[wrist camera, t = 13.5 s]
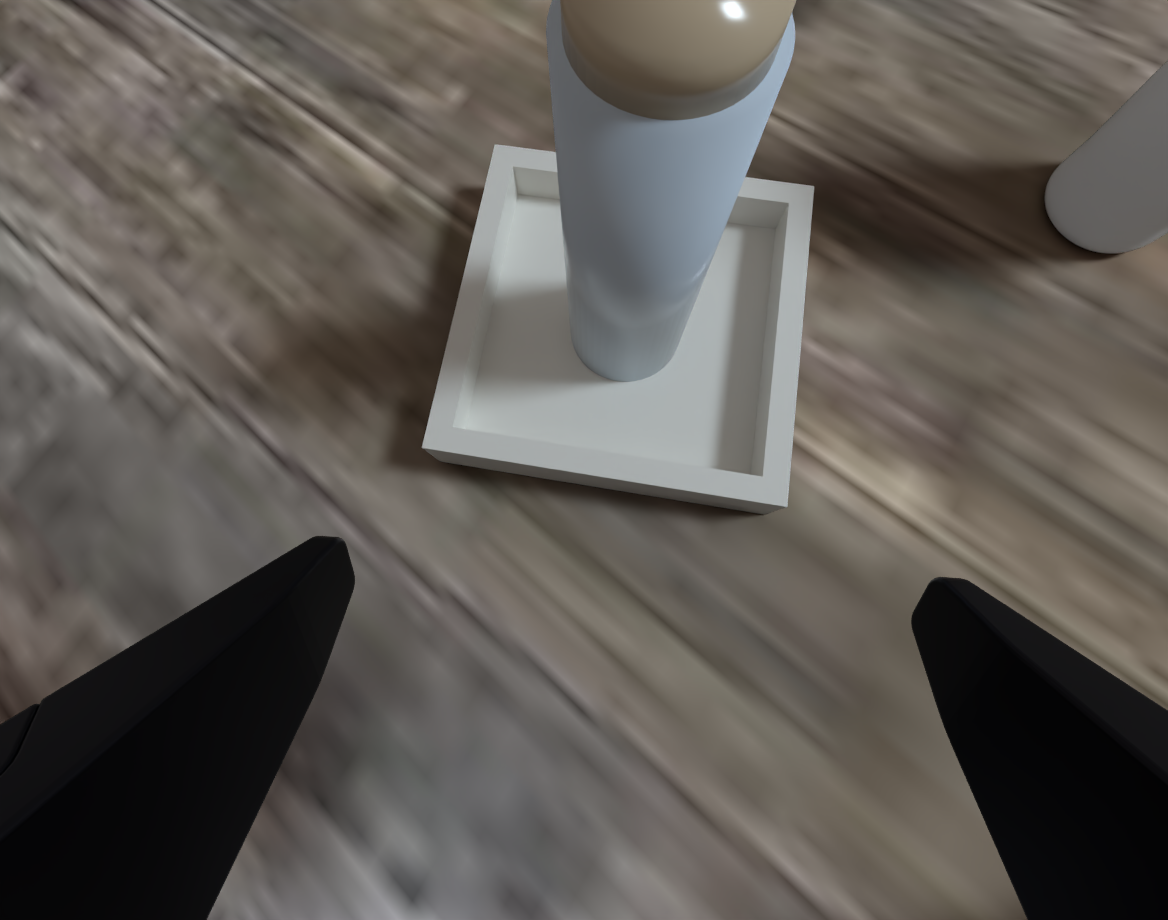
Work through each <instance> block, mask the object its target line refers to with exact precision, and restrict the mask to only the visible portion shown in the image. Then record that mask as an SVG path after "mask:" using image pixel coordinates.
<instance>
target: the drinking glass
mask: <svg viewBox="0 0 1168 920" xmlns="http://www.w3.org/2000/svg"><path fill="white" fill-rule="evenodd" d="M1045 207H1046V211H1047V214H1048V216H1049V218H1050V220H1051V222H1052V224H1053V225H1054V226H1055V228H1056V229H1057V230H1058V231H1059V232H1060V233H1061V234H1062V235H1063V236H1064V237H1065V238H1067V239H1068V240H1069V241H1071V242H1072V243H1074V244H1076V245H1078V246H1080V247H1082V248H1084V249H1087V250H1090V251H1094V252H1099V253H1108V254H1115V253H1124V252H1129V251H1133V250H1136V249H1139V248H1141V247H1144V246H1146V245H1148V244H1150V243H1152V242H1153V241H1155V240H1157V239H1159V238H1160V237H1162V236H1164V235H1165V234H1167V233H1168V60H1167V61H1166V62H1165V63H1164V64H1163V65H1162V66H1161V67H1160V68H1159V69H1158V70H1157V71H1156V72H1155V73H1154V74H1153V75H1152V76H1151V77H1150V78H1149V79H1148V80H1147V81H1146V82H1145V83H1144V84H1143V85H1142V86H1141V87H1140V88H1139V89H1138V90H1137V91H1136V92H1135V93H1134V94H1133V95H1132V96H1131V97H1130V98H1129V99H1128V100H1127V101H1126V102H1125V103H1124V104H1123V105H1122V106H1121V107H1120V108H1119V109H1118V110H1117V111H1116V112H1115V113H1114V114H1113V115H1112V116H1111V117H1110V118H1109V119H1108V120H1107V121H1106V122H1105V123H1104V124H1103V125H1102V126H1101V127H1100V128H1099V129H1098V130H1097V131H1096V132H1095V133H1094V134H1093V135H1092V136H1091V137H1090V138H1089V139H1088V140H1086V141H1085V142H1084V143H1083V144H1082V145H1081V146H1080V147H1078V148H1077V149H1076V150H1075V151H1074V152H1073V153H1072V154H1071V155H1069V156H1068V157H1067V158H1066V159H1065V160H1064V161H1063V162H1062V163H1061V164H1060V165H1059V166H1058V167H1057V168H1056V169H1055V171H1054V172H1053V173H1052V175H1051V177H1050V178H1049V180H1048V183H1047V186H1046V189H1045Z"/></svg>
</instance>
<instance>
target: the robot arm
mask: <svg viewBox="0 0 1168 920" xmlns="http://www.w3.org/2000/svg"><path fill="white" fill-rule="evenodd" d="M354 585H355V575H354V571H353V567H352V564H351V560H350V557H349V553H348V549H347V546H346V543H345V541H344V540H343V539H342V538H339V537H329V536H315V537H312V538H310V539H309V540H307V541H305V542H304V543H302V544H300V545H299V546H297V547H295V548H294V549H292V550H290V551H289V552H287V553H285V554H284V555H282V556H280V557H279V558H277V559H275V560H274V561H272V562H270V563H269V564H267V565H265V566H264V567H262V568H260V569H259V570H257V571H255V572H254V573H252V574H250V575H249V576H247V577H245V578H244V579H242V580H240V581H239V582H237V583H235V584H234V585H232V586H230V587H229V588H227V589H225V590H224V591H222V592H220V593H219V594H217V595H215V596H214V597H212V598H210V599H209V600H207V601H205V602H204V603H202V604H200V605H199V606H197V607H195V608H194V609H192V610H190V611H189V612H187V613H185V614H184V615H182V616H180V617H179V618H177V619H175V620H174V621H172V622H170V623H169V624H167V625H165V626H164V627H162V628H160V629H159V630H157V631H155V632H154V633H152V634H150V635H149V636H147V637H145V638H144V639H142V640H140V641H139V642H137V643H135V644H134V645H132V646H130V647H129V648H127V649H125V650H124V651H122V652H120V653H119V654H117V655H115V656H114V657H112V658H110V659H109V660H107V661H105V662H104V663H102V664H100V665H99V666H97V667H95V668H94V669H92V670H90V671H89V672H87V673H85V674H84V675H82V676H80V677H79V678H77V679H75V680H74V681H72V682H70V683H69V684H67V685H65V686H64V687H62V688H60V689H59V690H57V691H55V692H54V693H52V694H50V695H49V696H47V697H45V698H44V699H43V700H42V701H41V703H40V704H34V705H32V706H30V707H28V708H27V709H25V710H24V711H22V712H20V713H19V714H17V715H15V716H14V717H12V718H10V719H9V720H7V721H5V722H4V723H2V724H0V920H207V918H208V915H209V913H210V911H211V909H212V907H213V905H214V903H215V901H216V899H217V897H218V895H219V893H220V891H221V888H222V886H223V884H224V882H225V880H226V878H227V876H228V874H229V872H230V870H231V868H232V866H233V863H234V861H235V859H236V857H237V855H238V853H239V851H240V849H241V847H242V845H243V843H244V841H245V838H246V836H247V834H248V832H249V830H250V828H251V826H252V824H253V822H254V820H255V818H256V816H257V813H258V811H259V809H260V807H261V805H262V803H263V801H264V799H265V797H266V795H267V793H268V791H269V789H270V786H271V784H272V782H273V780H274V778H275V776H276V774H277V772H278V770H279V768H280V766H281V764H282V761H283V759H284V757H285V755H286V753H287V751H288V749H289V747H290V745H291V743H292V741H293V739H294V736H295V734H296V732H297V730H298V728H299V726H300V724H301V722H302V720H303V718H304V716H305V714H306V711H307V709H308V707H309V705H310V703H311V701H312V699H313V697H314V695H315V692H316V690H317V688H318V686H319V684H320V681H321V679H322V676H323V674H324V671H325V669H326V666H327V663H328V660H329V658H330V655H331V652H332V649H333V646H334V643H335V641H336V638H337V635H338V632H339V629H340V627H341V624H342V621H343V618H344V615H345V613H346V610H347V607H348V604H349V601H350V598H351V596H352V593H353V590H354ZM911 624H912V630H913V633H914V636H915V640H916V643H917V646H918V649H919V652H920V655H921V658H922V661H923V664H924V668H925V671H926V674H927V677H928V680H929V683H930V686H931V689H932V692H933V696H934V699H935V702H936V705H937V708H938V711H939V714H940V717H941V719H942V722H943V725H944V728H945V730H946V733H947V735H948V738H949V740H950V743H951V745H952V747H953V750H954V752H955V754H956V756H957V759H958V761H959V763H960V766H961V768H962V770H963V773H964V775H965V777H966V779H967V782H968V784H969V786H970V789H971V791H972V793H973V795H974V798H975V800H976V802H977V805H978V807H979V809H980V811H981V814H982V816H983V818H984V821H985V823H986V825H987V828H988V830H989V832H990V834H991V837H992V839H993V841H994V844H995V846H996V848H997V850H998V853H999V855H1000V857H1001V860H1002V862H1003V864H1004V866H1005V869H1006V871H1007V873H1008V876H1009V878H1010V880H1011V883H1012V885H1013V887H1014V889H1015V892H1016V894H1017V896H1018V899H1019V901H1020V903H1021V905H1022V908H1023V910H1024V912H1025V915H1026V917H1027V919H1028V920H1168V710H1166V709H1165V708H1163V707H1161V706H1160V705H1158V704H1157V703H1155V702H1154V701H1152V700H1151V699H1149V698H1148V697H1146V696H1145V695H1143V694H1142V693H1140V692H1138V691H1137V690H1135V689H1134V688H1132V687H1131V686H1129V685H1128V684H1126V683H1125V682H1123V681H1122V680H1120V679H1118V678H1117V677H1115V676H1114V675H1112V674H1111V673H1109V672H1108V671H1106V670H1105V669H1103V668H1102V667H1100V666H1099V665H1097V664H1095V663H1094V662H1092V661H1091V660H1089V659H1088V658H1086V657H1085V656H1083V655H1082V654H1080V653H1079V652H1077V651H1076V650H1074V649H1072V648H1071V647H1069V646H1068V645H1066V644H1065V643H1063V642H1062V641H1060V640H1059V639H1057V638H1056V637H1054V636H1053V635H1051V634H1049V633H1048V632H1046V631H1045V630H1043V629H1042V628H1040V627H1039V626H1037V625H1036V624H1034V623H1033V622H1031V621H1030V620H1028V619H1026V618H1025V617H1023V616H1022V615H1020V614H1019V613H1017V612H1016V611H1014V610H1013V609H1011V608H1010V607H1008V606H1007V605H1005V604H1003V603H1002V602H1000V601H999V600H997V599H996V598H994V597H993V596H991V595H990V594H988V593H987V592H985V591H984V590H982V589H980V588H979V587H977V586H976V585H974V584H973V583H971V582H970V581H968V580H965V579H961V578H948V577H937V578H934V579H933V580H931V581H930V583H929V584H928V586H927V588H926V590H925V591H924V593H923V595H922V597H921V599H920V600H919V602H918V604H917V606H916V608H915V610H914V612H913V614H912V620H911Z"/></svg>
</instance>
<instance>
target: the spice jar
mask: <svg viewBox="0 0 1168 920" xmlns="http://www.w3.org/2000/svg"><path fill="white" fill-rule="evenodd" d="M795 2H796V0H552V3H551V5H550V8H549V13H548V17H547V27H546V37H547V49H548V62H549V74H550V86H551V99H552V111H553V123H554V135H555V148H556V160H557V172H558V185H559V197H560V209H561V222H562V234H563V246H564V258H565V271H566V283H567V295H568V308H569V320H570V332H571V340H572V344H573V347H574V349H575V352H576V353H577V355H578V357H579V358H580V360H581V361H582V362H583V363H584V364H585V365H586V366H587V367H588V368H589V369H590V370H591V371H593V372H594V373H596V374H598V375H599V376H602V377H604V378H607V379H610V380H614V381H620V382H630V381H637V380H642V379H645V378H648V377H650V376H652V375H654V374H656V373H657V372H659V371H660V370H661V369H663V368H664V367H665V366H666V365H667V364H668V362H669V361H670V360H671V359H672V357H673V355H674V354H675V352H676V349H677V347H678V345H679V342H680V339H681V337H682V334H683V332H684V329H685V327H686V324H687V322H688V319H689V317H690V314H691V312H692V309H693V307H694V304H695V302H696V299H697V297H698V294H699V292H700V289H701V287H702V284H703V282H704V279H705V277H706V274H707V272H708V269H709V267H710V264H711V261H712V259H713V256H714V254H715V251H716V249H717V246H718V244H719V241H720V239H721V236H722V234H723V231H724V229H725V226H726V224H727V221H728V219H729V216H730V214H731V211H732V209H733V206H734V204H735V201H736V199H737V196H738V194H739V191H740V188H741V186H742V183H743V181H744V178H745V176H746V173H747V171H748V168H749V166H750V163H751V161H752V158H753V156H754V153H755V151H756V148H757V146H758V143H759V141H760V138H761V136H762V133H763V131H764V128H765V126H766V123H767V121H768V118H769V115H770V113H771V110H772V108H773V105H774V103H775V100H776V98H777V95H778V93H779V90H780V88H781V85H782V83H783V80H784V78H785V75H786V73H787V70H788V68H789V65H790V62H791V59H792V55H793V51H794V43H795V26H794V20H793V16H792V11H793V8H794V5H795Z"/></svg>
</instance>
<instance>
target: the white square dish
mask: <svg viewBox="0 0 1168 920" xmlns="http://www.w3.org/2000/svg"><path fill="white" fill-rule="evenodd" d="M813 195H814V186H809V185H802V184H794V183H786V182H779V181H771V180H764V179H756V178H748V177H745V178H744V181H743V183H742V186H741V188H740V191H739V194H738V196H737V199H736V201H735V204H734V206H733V209H732V211H731V214H730V216H729V219H728V221H727V224H726V226H725V229H724V231H723V234H722V236H721V239H720V241H719V244H718V246H717V249H716V251H715V254H714V256H713V259H712V261H711V264H710V267H709V269H708V272H707V274H706V277H705V279H704V282H703V284H702V287H701V289H700V292H699V294H698V297H697V299H696V302H695V304H694V307H693V309H692V312H691V314H690V317H689V319H688V322H687V324H686V327H685V329H684V332H683V334H682V337H681V339H680V342H679V345H678V347H677V349H676V352H675V354H674V355H673V357H672V359H671V360H670V361H669V362H668V364H667V365H666V366H665V367H664V368H663V369H661V370H660V371H659V372H657V373H656V374H654V375H652V376H650V377H648V378H645V379H642V380H637V381H630V382H620V381H614V380H610V379H607V378H604V377H602V376H599V375H598V374H596V373H594V372H593V371H591V370H590V369H589V368H588V367H587V366H586V365H585V364H584V363H583V362H582V361H581V360H580V358H579V357H578V355H577V353H576V352H575V349H574V347H573V344H572V340H571V332H570V320H569V308H568V295H567V283H566V271H565V258H564V246H563V234H562V222H561V209H560V197H559V185H558V172H557V160H556V152H550V151H542V150H535V149H527V148H519V147H512V146H504V145H497V144H495V147H494V151H493V155H492V159H491V163H490V167H489V171H488V176H487V180H486V184H485V188H484V192H483V196H482V200H481V205H480V209H479V213H478V217H477V221H476V225H475V229H474V234H473V238H472V242H471V246H470V250H469V254H468V258H467V263H466V267H465V271H464V275H463V279H462V283H461V287H460V291H459V296H458V300H457V304H456V308H455V312H454V316H453V320H452V325H451V329H450V333H449V337H448V341H447V345H446V349H445V354H444V358H443V362H442V366H441V370H440V374H439V378H438V383H437V387H436V391H435V395H434V399H433V403H432V407H431V411H430V416H429V420H428V424H427V428H426V432H425V436H424V440H423V445H422V448H423V449H424V450H425V451H427V452H428V453H429V454H431V455H432V456H433V457H435V458H436V459H437V460H439V461H440V462H446V463H452V464H458V465H464V466H470V467H477V468H483V469H489V470H495V471H501V472H507V473H513V474H519V475H526V476H532V477H538V478H544V479H550V480H556V481H562V482H568V483H575V484H581V485H587V486H593V487H599V488H605V489H611V490H617V491H624V492H630V493H636V494H642V495H648V496H654V497H660V498H666V499H673V500H679V501H685V502H691V503H697V504H703V505H709V506H715V507H722V508H728V509H734V510H740V511H746V512H752V513H758V514H765V515H766V514H769V513H771V512H774V511H777V510H780V509H783V508H786V507H787V503H788V491H789V480H790V468H791V456H792V444H793V432H794V420H795V409H796V397H797V385H798V373H799V361H800V349H801V338H802V326H803V314H804V302H805V290H806V278H807V267H808V255H809V243H810V231H811V219H812V207H813Z"/></svg>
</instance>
